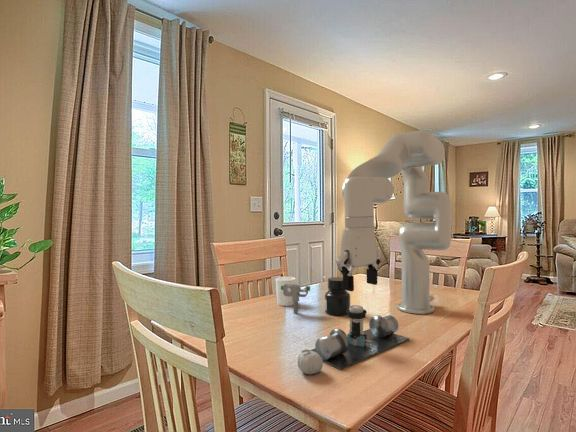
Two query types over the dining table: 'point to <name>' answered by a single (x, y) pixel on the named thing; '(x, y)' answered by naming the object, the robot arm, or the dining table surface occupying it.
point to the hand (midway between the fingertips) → (360, 287)
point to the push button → (357, 326)
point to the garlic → (309, 362)
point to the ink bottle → (336, 297)
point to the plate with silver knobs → (345, 355)
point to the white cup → (281, 298)
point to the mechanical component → (294, 293)
